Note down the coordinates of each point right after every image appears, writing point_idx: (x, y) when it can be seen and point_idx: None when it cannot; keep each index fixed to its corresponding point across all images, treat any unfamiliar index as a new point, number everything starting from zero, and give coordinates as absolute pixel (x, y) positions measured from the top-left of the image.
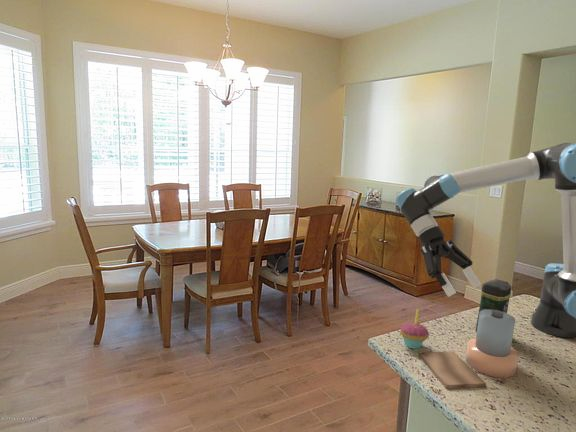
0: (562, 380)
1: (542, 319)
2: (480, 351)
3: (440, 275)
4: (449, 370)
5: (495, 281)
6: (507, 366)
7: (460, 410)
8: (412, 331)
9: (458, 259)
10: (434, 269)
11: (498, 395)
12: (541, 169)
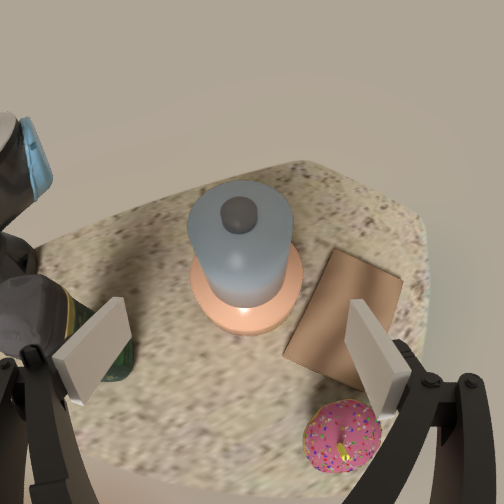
0: (190, 198)
1: None
2: (287, 277)
3: (415, 376)
4: None
5: (9, 313)
6: None
7: (416, 241)
8: (374, 422)
9: (61, 431)
10: (473, 389)
11: (334, 229)
12: None
